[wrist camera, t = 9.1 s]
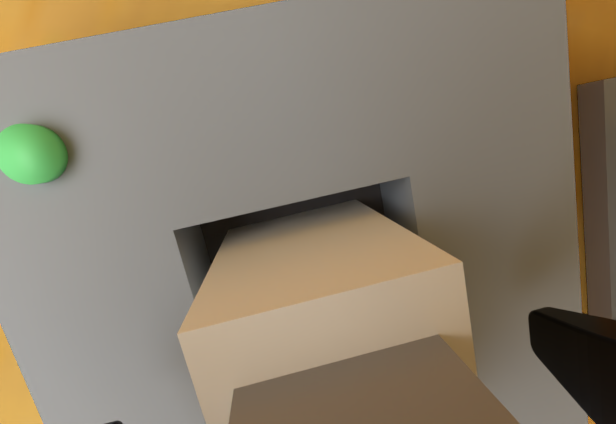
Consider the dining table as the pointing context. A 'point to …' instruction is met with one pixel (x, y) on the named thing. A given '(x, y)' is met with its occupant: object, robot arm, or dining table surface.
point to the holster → (599, 192)
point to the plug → (334, 327)
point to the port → (279, 180)
